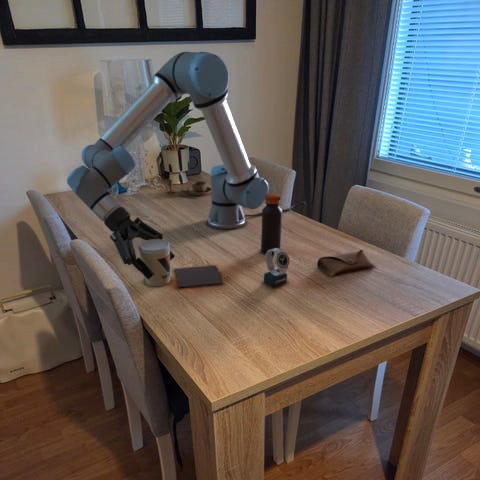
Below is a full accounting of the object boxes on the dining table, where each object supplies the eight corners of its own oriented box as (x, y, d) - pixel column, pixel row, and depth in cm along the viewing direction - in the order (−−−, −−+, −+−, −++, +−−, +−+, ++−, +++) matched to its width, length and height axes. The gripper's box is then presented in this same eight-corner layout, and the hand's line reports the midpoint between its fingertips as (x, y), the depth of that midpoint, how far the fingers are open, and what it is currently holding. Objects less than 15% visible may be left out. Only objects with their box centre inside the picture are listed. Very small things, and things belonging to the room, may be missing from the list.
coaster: (214, 266, 147) (214, 265, 147) (221, 284, 136) (221, 282, 136) (175, 270, 145) (175, 268, 144) (179, 288, 134) (179, 286, 134)
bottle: (271, 256, 154) (274, 199, 143) (257, 251, 158) (258, 195, 147) (283, 251, 158) (287, 195, 147) (269, 246, 162) (271, 191, 151)
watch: (277, 290, 133) (278, 256, 127) (260, 280, 138) (261, 247, 133) (291, 285, 136) (293, 251, 130) (273, 275, 141) (275, 243, 135)
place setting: (198, 199, 210) (197, 187, 207) (166, 192, 219) (165, 180, 216) (219, 190, 223) (219, 178, 220) (188, 184, 232) (187, 173, 229)
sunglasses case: (331, 276, 140) (327, 255, 139) (319, 278, 146) (315, 258, 146) (376, 266, 146) (372, 246, 146) (363, 269, 153) (359, 250, 152)
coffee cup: (167, 288, 134) (163, 251, 127) (138, 285, 135) (133, 249, 129) (177, 275, 141) (174, 239, 135) (149, 272, 143) (145, 237, 137)
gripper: (128, 209, 143) (173, 258, 147) (80, 235, 123) (134, 292, 127) (140, 194, 139) (187, 245, 143) (93, 219, 119) (148, 278, 123)
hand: (162, 267), depth 135 cm, fingers open, 13 cm apart
